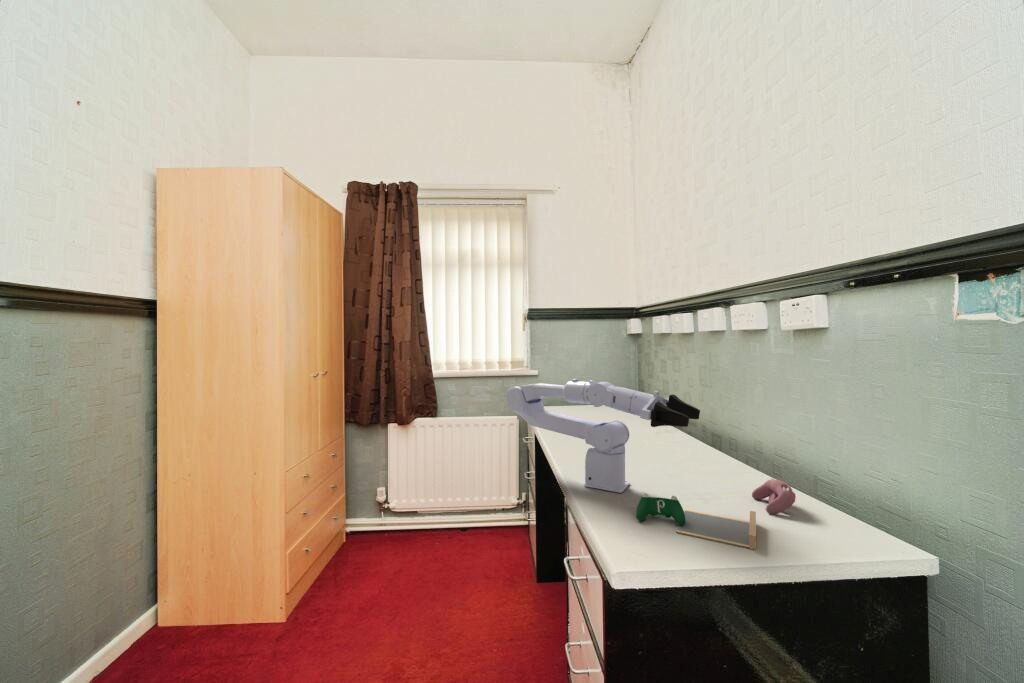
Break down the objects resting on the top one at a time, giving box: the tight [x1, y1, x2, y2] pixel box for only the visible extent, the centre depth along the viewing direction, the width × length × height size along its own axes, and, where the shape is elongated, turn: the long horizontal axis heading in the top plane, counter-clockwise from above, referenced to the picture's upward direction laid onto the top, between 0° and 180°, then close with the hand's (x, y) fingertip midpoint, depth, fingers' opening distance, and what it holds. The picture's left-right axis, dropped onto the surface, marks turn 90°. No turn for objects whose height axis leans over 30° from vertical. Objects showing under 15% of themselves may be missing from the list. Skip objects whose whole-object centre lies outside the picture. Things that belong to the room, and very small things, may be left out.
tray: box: [676, 509, 757, 550], centre depth 81 cm, size 13×12×2 cm
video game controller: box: [751, 477, 796, 515], centre depth 92 cm, size 10×5×7 cm, turn 168°
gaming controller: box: [635, 492, 685, 526], centre depth 86 cm, size 9×4×6 cm
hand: (693, 418), depth 93 cm, fingers open, 7 cm apart
